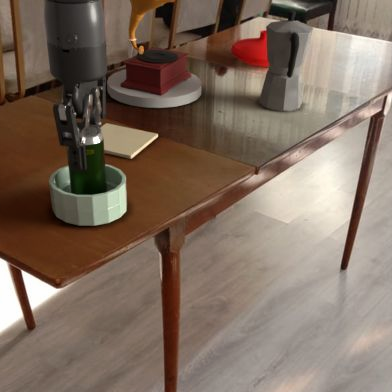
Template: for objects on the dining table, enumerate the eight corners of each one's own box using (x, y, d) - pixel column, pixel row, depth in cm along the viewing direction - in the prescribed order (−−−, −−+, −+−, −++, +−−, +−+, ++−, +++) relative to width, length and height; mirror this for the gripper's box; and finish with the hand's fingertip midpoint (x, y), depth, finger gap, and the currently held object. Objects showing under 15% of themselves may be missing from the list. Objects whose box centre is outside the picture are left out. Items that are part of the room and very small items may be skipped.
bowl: (85, 235, 91) (82, 204, 87) (38, 208, 96) (34, 177, 93) (141, 209, 97) (141, 179, 94) (94, 185, 102) (92, 156, 99)
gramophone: (89, 95, 133) (78, -41, 117) (137, 69, 147) (134, -56, 131) (174, 115, 127) (176, -27, 110) (216, 85, 141) (224, -44, 124)
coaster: (131, 159, 110) (130, 155, 110) (76, 146, 113) (76, 143, 113) (157, 136, 118) (157, 133, 118) (106, 126, 121) (106, 123, 121)
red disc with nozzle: (297, 57, 159) (301, 26, 155) (289, 76, 148) (293, 44, 143) (237, 50, 162) (239, 20, 157) (224, 68, 150) (226, 36, 146)
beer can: (111, 212, 95) (107, 135, 87) (76, 217, 94) (68, 140, 86) (103, 196, 99) (98, 121, 91) (69, 201, 97) (61, 125, 90)
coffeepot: (255, 92, 138) (264, 1, 127) (297, 93, 139) (310, 3, 127) (263, 118, 127) (273, 21, 115) (309, 120, 127) (324, 23, 116)
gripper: (69, 19, 86) (79, 139, 97) (24, 49, 76) (42, 179, 87) (121, 25, 85) (126, 145, 96) (83, 55, 74) (93, 186, 86)
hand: (86, 161), depth 91 cm, fingers closed on beer can, 5 cm apart
